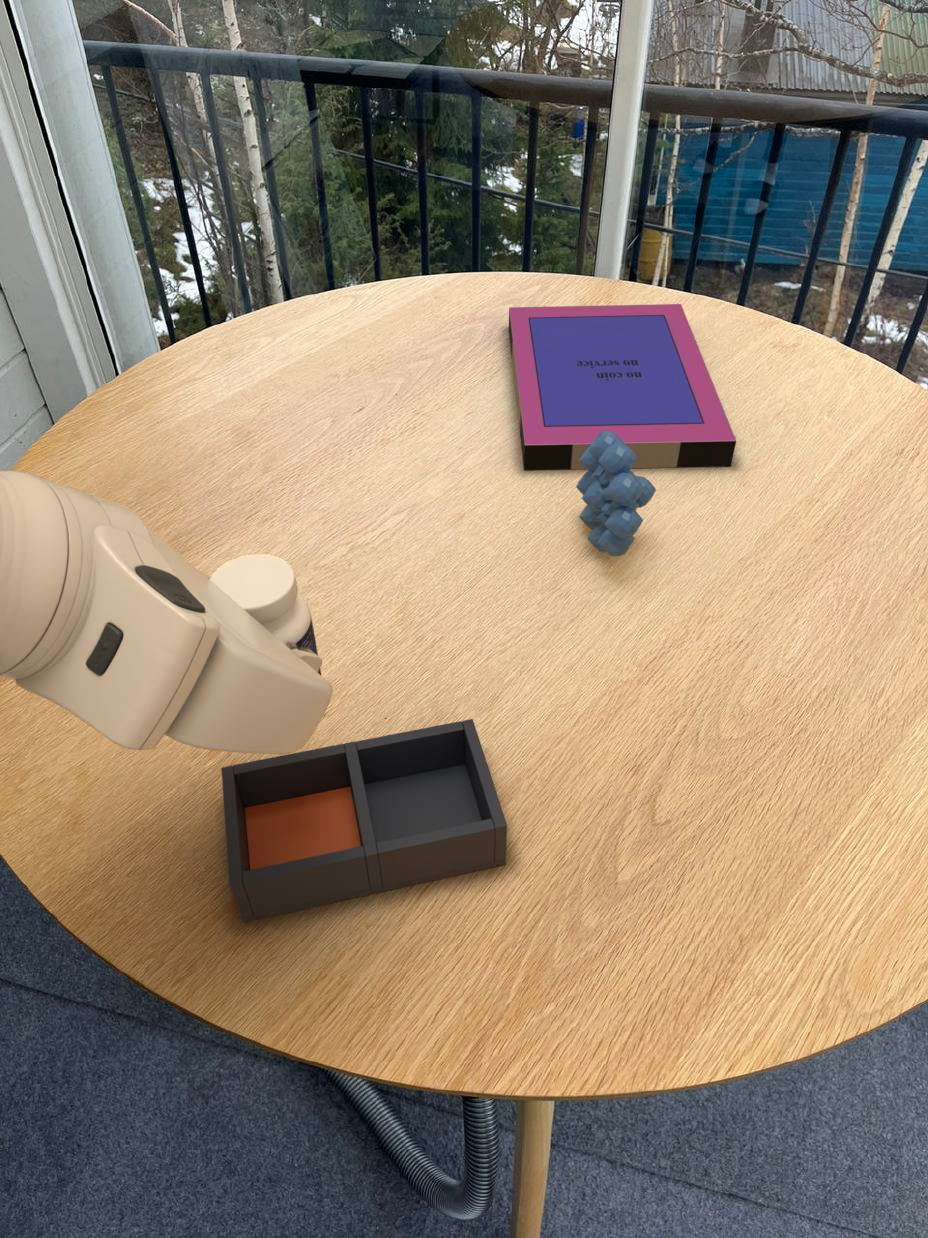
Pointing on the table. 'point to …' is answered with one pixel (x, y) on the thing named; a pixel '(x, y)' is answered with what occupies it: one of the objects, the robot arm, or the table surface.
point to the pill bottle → (269, 596)
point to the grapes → (612, 494)
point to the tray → (360, 819)
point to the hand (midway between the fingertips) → (273, 634)
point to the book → (614, 386)
